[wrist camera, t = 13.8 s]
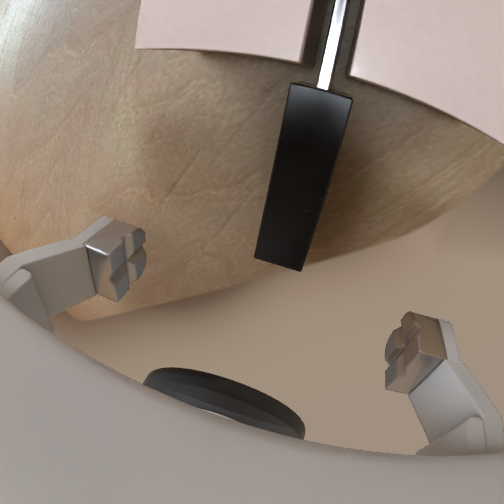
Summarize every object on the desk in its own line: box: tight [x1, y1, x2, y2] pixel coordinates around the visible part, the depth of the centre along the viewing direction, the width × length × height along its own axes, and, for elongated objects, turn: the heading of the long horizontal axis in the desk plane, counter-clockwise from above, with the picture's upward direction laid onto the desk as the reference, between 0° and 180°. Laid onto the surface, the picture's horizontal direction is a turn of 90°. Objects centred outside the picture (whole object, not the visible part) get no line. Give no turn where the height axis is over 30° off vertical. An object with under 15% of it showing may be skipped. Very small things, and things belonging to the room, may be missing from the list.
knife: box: [254, 0, 353, 272], centre depth 10 cm, size 22×3×3 cm, turn 171°
